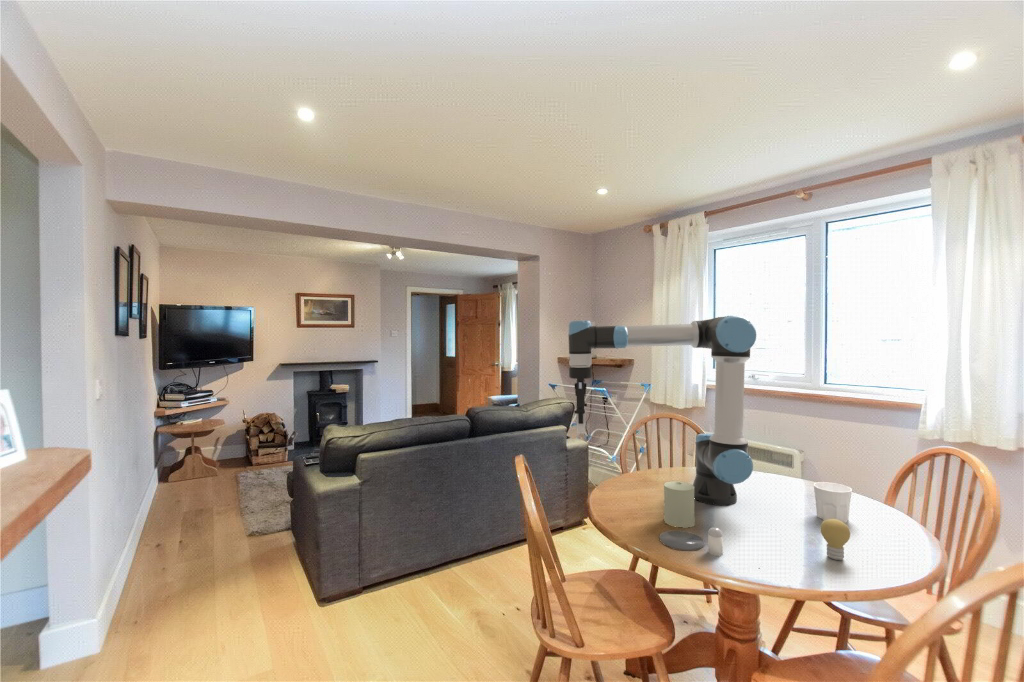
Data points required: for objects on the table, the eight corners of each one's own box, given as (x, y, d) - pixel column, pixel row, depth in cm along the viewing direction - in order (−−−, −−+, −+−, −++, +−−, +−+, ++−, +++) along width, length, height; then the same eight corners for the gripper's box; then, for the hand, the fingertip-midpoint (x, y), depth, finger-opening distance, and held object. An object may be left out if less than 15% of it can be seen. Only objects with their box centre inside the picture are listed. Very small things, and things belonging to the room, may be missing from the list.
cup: (854, 517, 151) (854, 486, 151) (849, 527, 143) (848, 494, 143) (817, 509, 158) (817, 480, 157) (810, 518, 150) (810, 487, 150)
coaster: (696, 532, 140) (696, 530, 140) (710, 551, 128) (710, 549, 128) (655, 531, 141) (655, 529, 141) (665, 550, 129) (665, 547, 129)
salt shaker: (719, 550, 129) (719, 525, 129) (724, 556, 125) (724, 530, 125) (706, 549, 129) (706, 525, 129) (710, 556, 126) (710, 530, 126)
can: (694, 518, 151) (694, 481, 151) (695, 529, 143) (695, 490, 143) (664, 515, 154) (663, 478, 154) (663, 526, 146) (663, 487, 146)
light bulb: (814, 553, 127) (814, 515, 127) (837, 551, 127) (837, 514, 127) (833, 564, 120) (832, 525, 120) (856, 563, 121) (856, 524, 121)
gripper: (570, 364, 173) (571, 422, 173) (567, 369, 148) (568, 436, 148) (591, 364, 172) (592, 422, 172) (591, 369, 147) (592, 437, 147)
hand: (581, 429), depth 160 cm, fingers open, 13 cm apart
